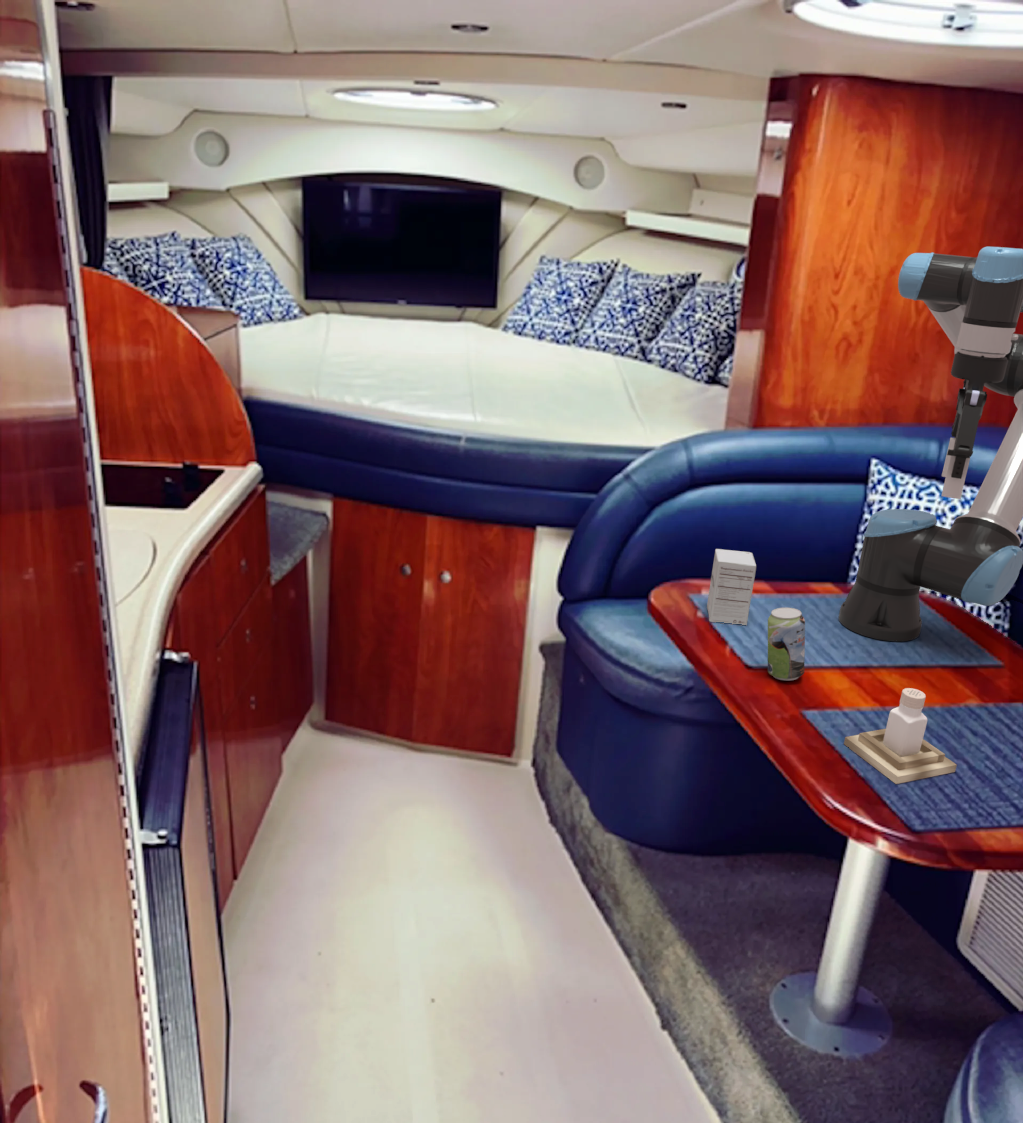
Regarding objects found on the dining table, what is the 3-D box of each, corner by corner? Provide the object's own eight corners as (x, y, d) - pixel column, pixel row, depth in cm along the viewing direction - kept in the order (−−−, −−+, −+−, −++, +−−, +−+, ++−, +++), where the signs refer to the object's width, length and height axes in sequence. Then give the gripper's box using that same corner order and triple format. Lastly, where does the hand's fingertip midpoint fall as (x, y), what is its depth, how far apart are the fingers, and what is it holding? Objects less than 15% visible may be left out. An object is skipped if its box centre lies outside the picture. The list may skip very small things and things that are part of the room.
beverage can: (804, 687, 162) (816, 622, 158) (759, 680, 163) (770, 615, 159) (801, 670, 168) (813, 607, 163) (758, 664, 169) (769, 601, 165)
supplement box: (705, 607, 192) (714, 547, 187) (743, 611, 191) (753, 551, 186) (707, 622, 185) (717, 560, 180) (747, 626, 184) (757, 565, 179)
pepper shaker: (900, 759, 140) (914, 701, 136) (880, 745, 143) (893, 688, 140) (920, 754, 141) (935, 697, 138) (900, 741, 145) (914, 684, 141)
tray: (900, 733, 149) (903, 720, 148) (955, 771, 140) (958, 757, 139) (843, 743, 145) (846, 730, 144) (896, 784, 136) (899, 769, 135)
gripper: (1014, 366, 135) (978, 510, 143) (1004, 347, 157) (973, 473, 164) (956, 360, 138) (924, 502, 145) (954, 342, 159) (926, 466, 167)
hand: (950, 487), depth 155 cm, fingers open, 13 cm apart
